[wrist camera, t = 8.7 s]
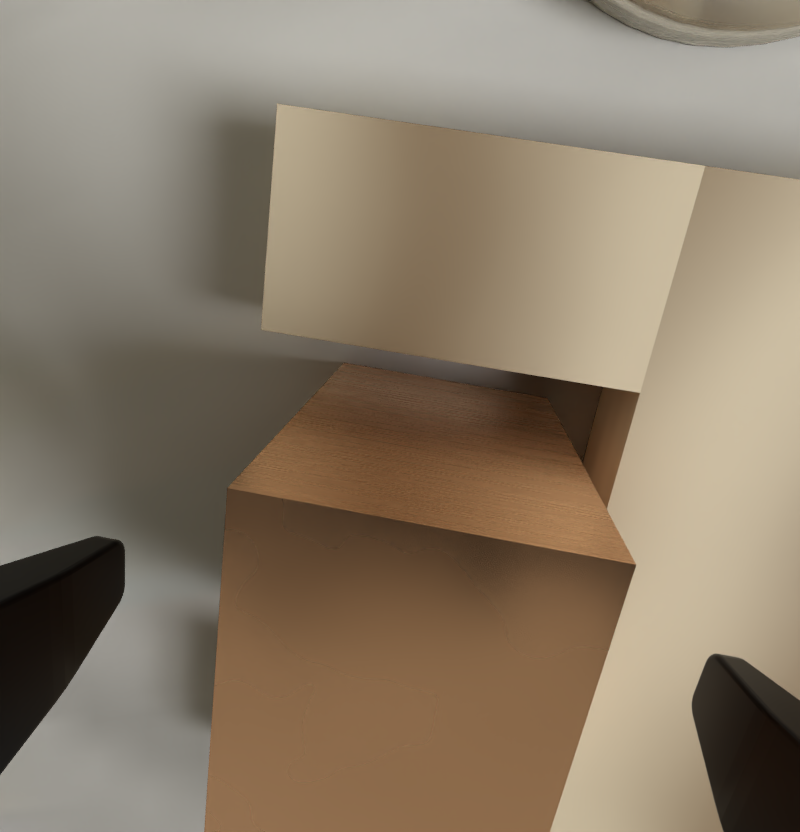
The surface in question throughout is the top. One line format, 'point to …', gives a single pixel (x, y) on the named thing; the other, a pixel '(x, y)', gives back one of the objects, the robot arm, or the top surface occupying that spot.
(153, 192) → the top surface
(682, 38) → the bobbin
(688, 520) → the notched board
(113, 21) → the top surface
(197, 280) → the top surface
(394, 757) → the wooden block
